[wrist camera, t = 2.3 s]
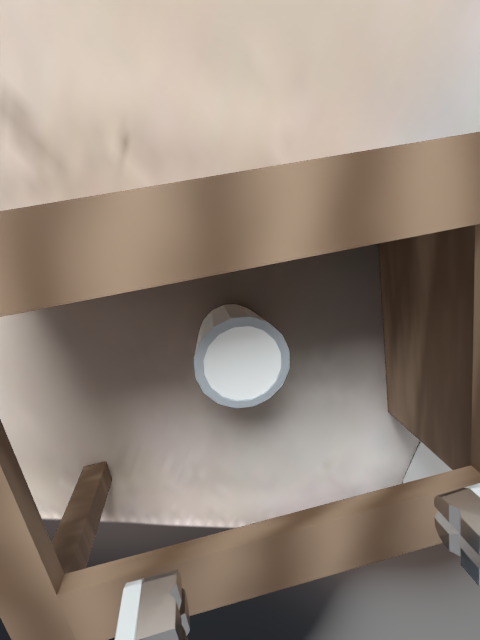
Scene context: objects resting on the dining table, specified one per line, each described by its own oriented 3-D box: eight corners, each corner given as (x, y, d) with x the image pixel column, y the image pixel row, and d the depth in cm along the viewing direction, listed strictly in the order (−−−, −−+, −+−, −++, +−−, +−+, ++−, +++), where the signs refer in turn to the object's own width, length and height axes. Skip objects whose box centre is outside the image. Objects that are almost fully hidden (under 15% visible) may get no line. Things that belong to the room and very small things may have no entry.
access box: (387, 168, 29) (558, 118, 16) (399, 408, 36) (527, 518, 22) (1, 234, 26) (-190, 242, 13) (90, 484, 33) (23, 663, 19)
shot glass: (203, 379, 32) (208, 420, 25) (182, 308, 30) (181, 332, 23) (275, 359, 32) (299, 393, 26) (259, 287, 30) (280, 305, 24)
